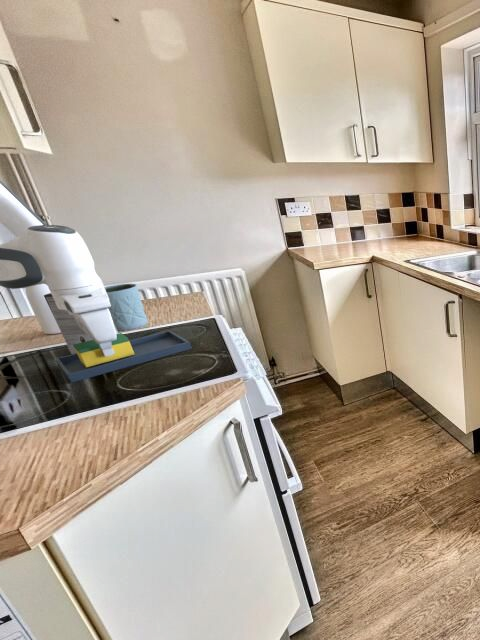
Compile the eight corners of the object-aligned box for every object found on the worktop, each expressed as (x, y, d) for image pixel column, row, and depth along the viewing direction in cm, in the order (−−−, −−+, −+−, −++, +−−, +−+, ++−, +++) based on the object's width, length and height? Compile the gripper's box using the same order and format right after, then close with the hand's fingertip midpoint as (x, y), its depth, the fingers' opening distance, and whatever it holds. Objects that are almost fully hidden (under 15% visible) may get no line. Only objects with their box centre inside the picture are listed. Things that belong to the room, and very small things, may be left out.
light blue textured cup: (158, 320, 133) (145, 283, 128) (130, 332, 124) (114, 292, 119) (128, 320, 134) (114, 283, 129) (97, 332, 124) (81, 292, 120)
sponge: (86, 367, 99) (78, 350, 97) (80, 361, 102) (72, 344, 100) (134, 354, 105) (127, 337, 103) (127, 349, 108) (121, 332, 107)
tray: (71, 382, 94) (67, 374, 93) (58, 366, 102) (54, 358, 102) (191, 348, 111) (189, 341, 110) (172, 336, 119) (169, 330, 119)
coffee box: (96, 341, 117) (72, 285, 111) (121, 339, 118) (99, 283, 112) (69, 354, 109) (42, 294, 103) (97, 352, 110) (72, 293, 104)
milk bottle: (47, 336, 121) (15, 268, 114) (40, 331, 125) (9, 265, 118) (83, 328, 127) (54, 262, 120) (75, 324, 131) (47, 260, 124)
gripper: (54, 293, 101) (78, 346, 106) (72, 308, 90) (98, 366, 95) (89, 287, 106) (110, 338, 111) (110, 300, 94) (133, 356, 99)
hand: (105, 351), depth 103 cm, fingers closed on sponge, 6 cm apart
